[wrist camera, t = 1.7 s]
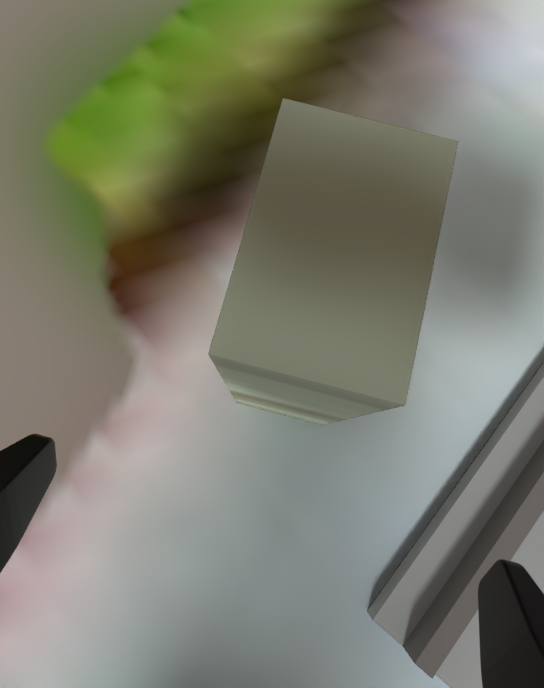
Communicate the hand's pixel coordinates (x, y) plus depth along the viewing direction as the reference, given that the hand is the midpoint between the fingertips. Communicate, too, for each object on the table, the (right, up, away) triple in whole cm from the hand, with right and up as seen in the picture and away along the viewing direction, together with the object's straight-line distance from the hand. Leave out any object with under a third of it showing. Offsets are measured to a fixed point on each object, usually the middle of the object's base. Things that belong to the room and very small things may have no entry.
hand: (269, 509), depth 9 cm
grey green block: (+1, +3, +13) cm, 13 cm away
